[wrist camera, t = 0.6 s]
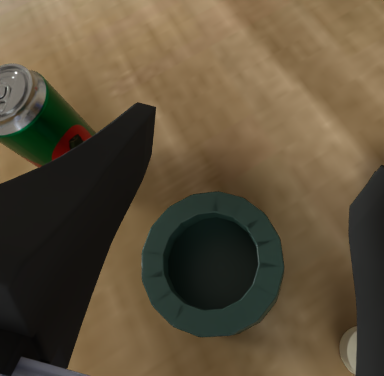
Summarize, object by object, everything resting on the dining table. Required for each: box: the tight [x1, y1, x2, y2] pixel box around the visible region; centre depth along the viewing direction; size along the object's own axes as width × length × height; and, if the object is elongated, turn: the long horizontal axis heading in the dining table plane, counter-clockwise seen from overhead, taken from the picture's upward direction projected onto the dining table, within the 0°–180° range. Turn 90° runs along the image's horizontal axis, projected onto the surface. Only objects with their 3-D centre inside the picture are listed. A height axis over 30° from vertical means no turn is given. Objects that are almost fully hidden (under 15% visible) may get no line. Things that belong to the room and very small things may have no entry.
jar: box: [142, 191, 284, 337], centre depth 25 cm, size 9×9×5 cm
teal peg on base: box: [339, 326, 357, 375], centre depth 20 cm, size 3×3×7 cm
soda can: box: [0, 64, 96, 168], centre depth 27 cm, size 5×5×12 cm
